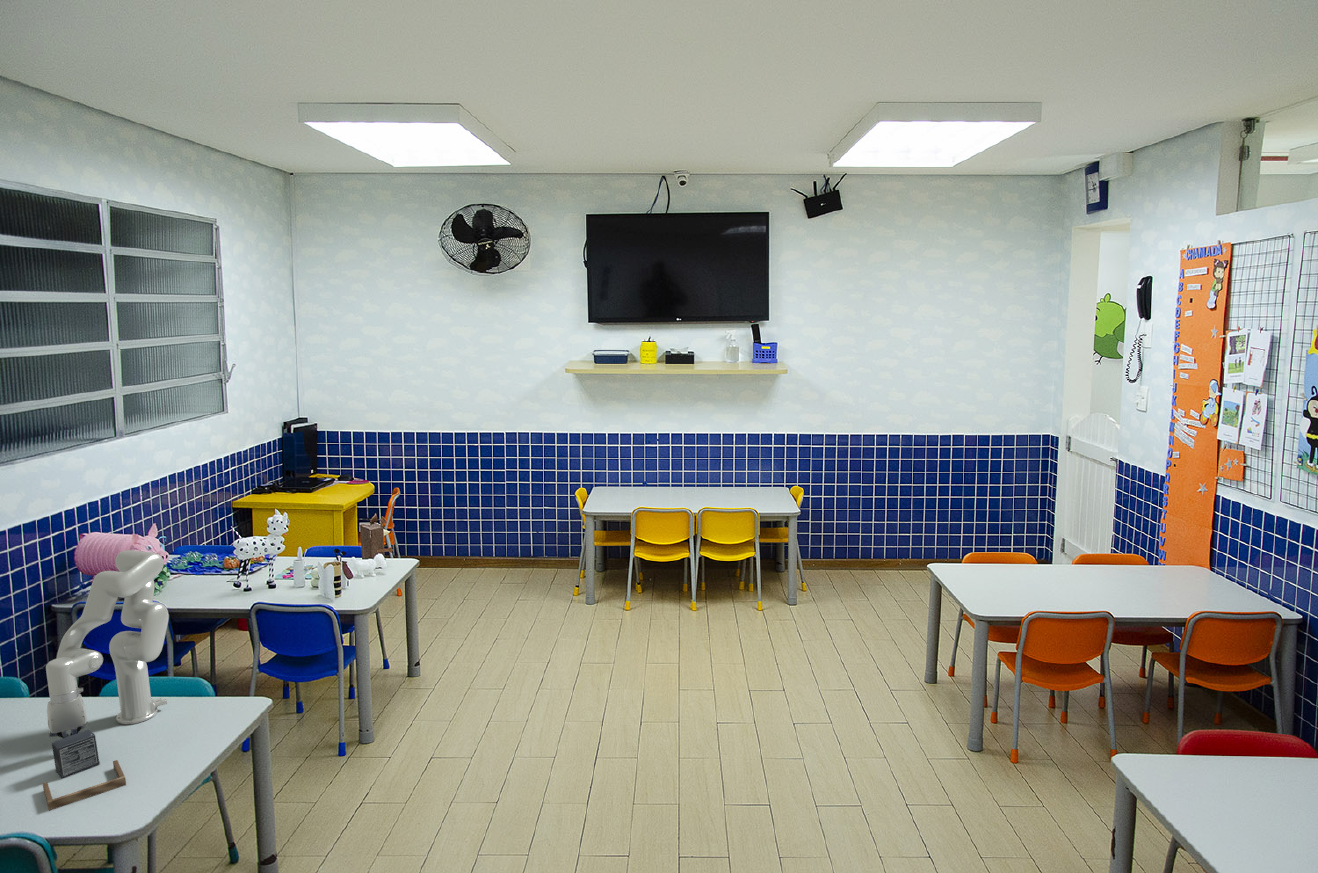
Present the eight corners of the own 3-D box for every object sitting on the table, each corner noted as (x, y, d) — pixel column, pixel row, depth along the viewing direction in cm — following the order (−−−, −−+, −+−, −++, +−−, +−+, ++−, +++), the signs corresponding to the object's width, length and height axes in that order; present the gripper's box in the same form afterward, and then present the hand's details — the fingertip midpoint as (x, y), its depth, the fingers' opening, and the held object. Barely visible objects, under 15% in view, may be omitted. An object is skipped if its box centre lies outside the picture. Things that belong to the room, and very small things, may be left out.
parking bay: (118, 767, 268) (117, 760, 268) (126, 785, 259) (125, 777, 258) (43, 791, 256) (42, 783, 255) (49, 810, 246) (48, 803, 246)
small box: (93, 757, 274) (89, 728, 272) (100, 764, 270) (96, 734, 268) (55, 772, 266) (50, 741, 264) (61, 779, 262) (57, 748, 260)
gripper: (89, 684, 282) (96, 735, 285) (34, 699, 272) (42, 751, 275) (93, 692, 276) (100, 744, 279) (37, 707, 267) (45, 760, 270)
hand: (71, 747), depth 277 cm, fingers closed
